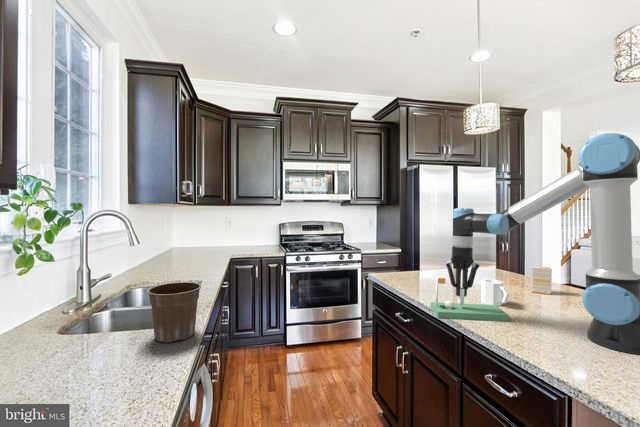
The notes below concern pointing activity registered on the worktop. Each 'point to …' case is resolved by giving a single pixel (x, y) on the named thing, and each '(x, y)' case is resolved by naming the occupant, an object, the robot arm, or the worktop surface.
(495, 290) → the mug
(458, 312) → the putting strip
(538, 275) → the supplement box
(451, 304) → the ball
